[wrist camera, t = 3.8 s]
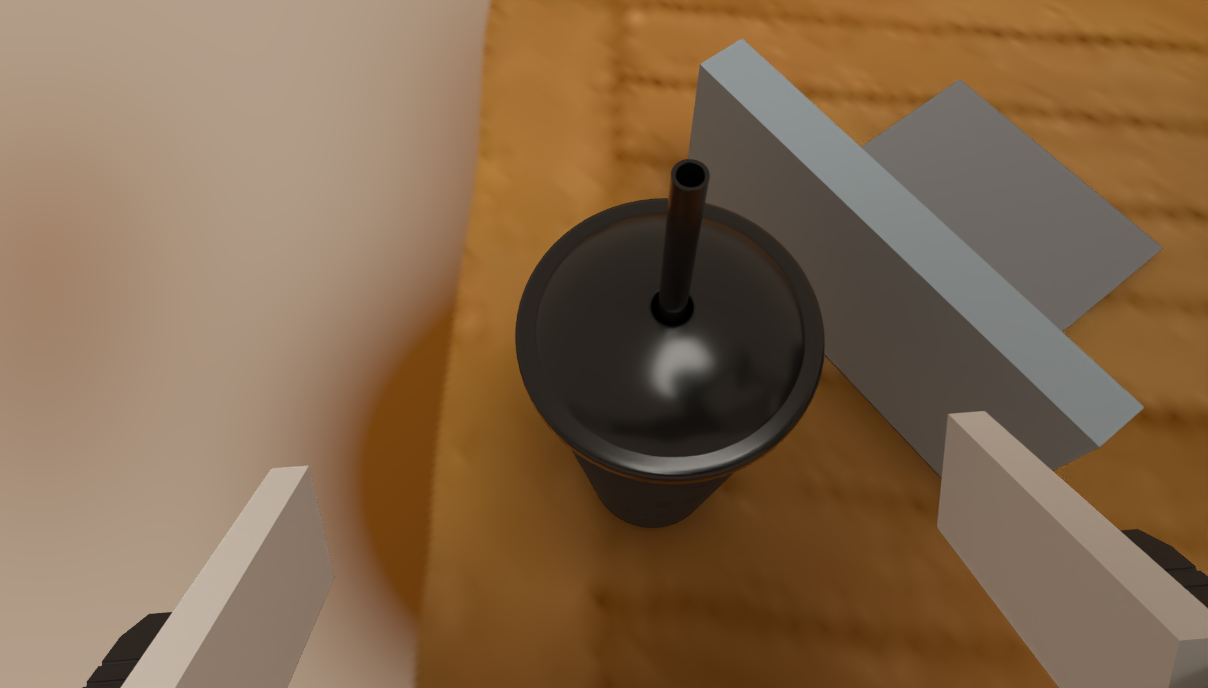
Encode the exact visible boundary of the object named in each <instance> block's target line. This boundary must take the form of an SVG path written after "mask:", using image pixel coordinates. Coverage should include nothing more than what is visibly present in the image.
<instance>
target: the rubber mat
mask: <svg viewBox="0 0 1208 688" xmlns="http://www.w3.org/2000/svg"><path fill="white" fill-rule="evenodd" d="M861 148H862V149H863V150H864V151H865V152H867V153H868V154H869V155H870V156H871V157H872V158H873V159H874V160H875V161H876V162H877V163H879V164H880V165H881V166H882V167H883V168H884V169H885V170H886V171H887V172H888V173H889V174H891V175H892V176H893V177H894V178H895V179H896V180H897V181H898V182H899V183H900V184H901V185H902V186H904V187H905V188H906V189H907V190H908V191H909V192H910V193H911V194H912V195H913V196H914V197H916V198H917V199H918V200H919V201H920V202H921V203H922V204H923V205H924V206H925V207H926V208H928V209H929V210H930V211H931V212H932V213H933V214H934V215H935V216H936V217H937V218H938V219H940V220H941V221H942V222H943V223H944V224H945V225H946V226H947V227H948V228H949V229H950V230H952V231H953V232H954V233H955V234H956V235H957V236H958V237H959V238H960V239H961V240H962V241H964V242H965V243H966V244H967V245H968V246H969V247H970V248H971V249H972V250H973V251H974V252H976V253H977V254H978V255H979V256H980V257H981V258H982V259H983V260H984V261H985V262H986V263H988V264H989V265H990V266H991V267H992V268H993V269H994V270H995V271H996V272H997V273H998V274H1000V275H1001V276H1002V277H1003V278H1004V279H1005V280H1006V281H1007V282H1008V283H1009V284H1010V285H1012V286H1013V287H1014V288H1015V289H1016V290H1017V291H1018V292H1019V293H1020V294H1021V295H1022V296H1024V297H1025V298H1026V299H1027V300H1028V301H1029V302H1030V303H1031V304H1032V305H1033V306H1034V307H1036V308H1037V309H1038V310H1039V311H1040V312H1041V313H1042V314H1043V315H1044V316H1045V317H1046V318H1048V319H1049V320H1050V321H1051V322H1052V323H1053V324H1054V325H1055V326H1056V327H1057V328H1058V329H1060V330H1061V331H1062V332H1063V331H1064V330H1065V329H1066V328H1068V327H1069V326H1070V325H1071V324H1072V323H1074V322H1075V321H1076V320H1077V319H1078V318H1080V317H1081V316H1082V315H1083V314H1084V313H1086V312H1087V311H1088V310H1089V309H1091V308H1092V307H1093V306H1094V305H1095V304H1097V303H1098V302H1099V301H1100V300H1101V299H1103V298H1104V297H1105V296H1106V295H1107V294H1109V293H1110V292H1111V291H1112V290H1113V289H1115V288H1116V287H1117V286H1118V285H1120V284H1121V283H1122V282H1123V281H1124V280H1126V279H1127V278H1128V277H1129V276H1130V275H1132V274H1133V273H1134V272H1135V271H1136V270H1138V269H1139V268H1140V267H1141V266H1142V265H1144V264H1145V263H1146V262H1147V261H1149V260H1150V259H1151V258H1152V257H1153V256H1155V255H1156V254H1157V253H1158V252H1159V251H1161V250H1162V249H1163V247H1162V246H1160V245H1159V244H1158V243H1157V242H1156V241H1154V240H1153V239H1152V238H1151V237H1150V236H1148V235H1147V234H1146V233H1145V232H1144V231H1142V230H1141V229H1140V228H1139V227H1138V226H1136V225H1135V224H1134V223H1133V222H1131V221H1130V220H1129V219H1128V218H1127V217H1125V216H1124V215H1123V214H1122V213H1121V212H1119V211H1118V210H1117V209H1116V208H1115V207H1113V206H1112V205H1111V204H1110V203H1109V202H1107V201H1106V200H1105V199H1104V198H1103V197H1101V196H1100V195H1099V194H1098V193H1097V192H1095V191H1094V190H1093V189H1092V188H1090V187H1089V186H1088V185H1087V184H1086V183H1084V182H1083V181H1082V180H1081V179H1080V178H1078V177H1077V176H1076V175H1075V174H1074V173H1072V172H1071V171H1070V170H1069V169H1068V168H1066V167H1065V166H1064V165H1063V164H1062V163H1060V162H1059V161H1058V160H1057V159H1056V158H1054V157H1053V156H1052V155H1051V154H1050V153H1048V152H1047V151H1046V150H1045V149H1043V148H1042V147H1041V146H1040V145H1039V144H1037V143H1036V142H1035V141H1034V140H1033V139H1031V138H1030V137H1029V136H1028V135H1027V134H1025V133H1024V132H1023V131H1022V130H1021V129H1019V128H1018V127H1017V126H1016V125H1015V124H1013V123H1012V122H1011V121H1010V120H1009V119H1007V118H1006V117H1005V116H1004V115H1002V114H1001V113H1000V112H999V111H998V110H996V109H995V108H994V107H993V106H992V105H990V104H989V103H988V102H987V101H986V100H984V99H983V98H982V97H981V96H980V95H978V94H977V93H976V92H975V91H974V90H972V89H971V88H970V87H969V86H968V85H966V84H965V83H964V82H963V81H961V80H960V79H959V80H958V81H956V82H955V83H953V84H952V85H951V86H949V87H948V88H946V89H945V90H943V91H942V92H940V93H939V94H937V95H936V96H935V97H933V98H932V99H930V100H929V101H927V102H926V103H924V104H923V105H922V106H920V107H919V108H917V109H916V110H914V111H913V112H911V113H910V114H909V115H907V116H906V117H904V118H903V119H901V120H900V121H898V122H897V123H895V124H894V125H893V126H891V127H890V128H888V129H887V130H885V131H884V132H882V133H881V134H880V135H878V136H877V137H875V138H874V139H872V140H871V141H869V142H868V143H867V144H865V145H864V146H862V147H861Z"/></svg>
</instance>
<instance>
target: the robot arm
mask: <svg viewBox="0 0 1208 688" xmlns="http://www.w3.org/2000/svg"><path fill="white" fill-rule="evenodd" d="M937 528H938V530H939V531H940V532H941V533H942V535H943V536H944V537H945V539H946V540H947V541H948V543H949V544H950V545H951V547H952V548H953V549H954V551H955V552H956V553H957V555H958V556H959V557H960V558H961V560H962V561H963V562H964V564H965V565H966V566H967V568H968V569H969V570H970V572H971V573H972V574H973V576H974V577H975V578H976V579H977V581H978V582H979V583H980V585H981V586H982V587H983V589H984V590H985V591H986V593H987V594H988V595H989V597H990V598H991V599H992V600H993V602H994V603H995V604H996V606H997V607H998V608H999V610H1000V611H1001V612H1002V614H1003V615H1004V616H1005V618H1006V619H1007V620H1008V622H1009V623H1010V624H1011V625H1012V627H1013V628H1014V629H1015V631H1016V632H1017V633H1018V635H1019V636H1020V637H1021V639H1022V640H1023V641H1024V643H1025V644H1026V645H1027V646H1028V648H1029V649H1030V650H1031V652H1032V653H1033V654H1034V656H1035V657H1036V658H1037V660H1038V661H1039V662H1040V664H1041V665H1042V666H1043V667H1044V669H1045V670H1046V671H1047V673H1048V674H1049V675H1050V677H1051V678H1052V679H1053V681H1054V682H1055V683H1056V685H1057V686H1058V687H1059V688H1208V576H1206V575H1205V574H1204V573H1203V572H1202V571H1197V570H1196V566H1194V565H1193V564H1192V563H1191V562H1190V561H1188V560H1187V559H1186V558H1185V557H1184V556H1182V555H1181V554H1180V553H1179V552H1178V551H1176V550H1175V549H1174V548H1173V547H1172V546H1170V545H1168V544H1166V543H1164V542H1162V541H1160V540H1158V539H1156V538H1154V537H1152V536H1150V535H1148V534H1146V533H1144V532H1142V531H1140V530H1138V529H1135V530H1123V531H1120V530H1119V529H1117V528H1116V527H1115V526H1114V525H1113V524H1112V523H1111V522H1110V521H1108V520H1107V519H1106V518H1105V517H1104V516H1103V515H1102V514H1101V513H1099V512H1098V511H1097V510H1096V509H1095V508H1094V507H1093V506H1091V505H1090V504H1089V503H1088V502H1087V501H1086V500H1085V499H1084V498H1082V497H1081V496H1080V495H1079V494H1078V493H1077V492H1076V491H1075V490H1073V489H1072V488H1071V487H1070V486H1069V485H1068V484H1067V483H1066V482H1064V481H1063V480H1062V479H1061V478H1060V477H1059V476H1058V475H1056V474H1055V473H1054V472H1053V471H1052V470H1051V469H1050V468H1049V467H1047V466H1046V465H1045V464H1044V463H1043V462H1042V461H1041V460H1040V459H1038V458H1037V457H1036V456H1035V455H1034V454H1033V453H1032V452H1030V451H1029V450H1028V449H1027V448H1026V447H1025V446H1024V445H1023V444H1021V443H1020V442H1019V441H1018V440H1017V439H1016V438H1015V437H1014V436H1012V435H1011V434H1010V433H1009V432H1008V431H1007V430H1006V429H1005V428H1003V427H1002V426H1001V425H1000V424H999V423H998V422H997V421H995V420H994V419H993V418H992V417H991V416H990V415H989V414H988V413H986V412H985V411H978V412H966V413H953V414H948V419H947V429H946V439H945V449H944V460H943V470H942V480H941V490H940V500H939V511H938V521H937ZM334 578H335V577H334V573H333V568H332V564H331V559H330V555H329V550H328V546H327V542H326V537H325V533H324V528H323V524H322V520H321V515H320V511H319V506H318V502H317V498H316V494H315V489H314V485H313V480H312V476H311V471H310V467H309V466H297V467H285V468H272V469H271V470H270V471H269V473H268V474H267V476H266V477H265V478H264V480H263V481H262V483H261V484H260V486H259V487H258V489H257V490H256V492H255V493H254V494H253V496H252V497H251V499H250V500H249V502H248V503H247V505H246V506H245V508H244V509H243V511H242V512H241V513H240V515H239V516H238V518H237V519H236V521H235V522H234V524H233V525H232V526H231V528H230V529H229V531H228V532H227V534H226V535H225V537H224V538H223V540H222V541H221V542H220V544H219V545H218V547H217V548H216V550H215V551H214V553H213V554H212V556H211V557H210V559H209V560H208V561H207V563H206V564H205V566H204V567H203V569H202V570H201V572H200V573H199V574H198V576H197V578H196V579H195V580H194V582H193V583H192V585H191V586H190V588H189V589H188V591H187V592H186V593H185V595H184V596H183V598H182V599H181V601H180V602H179V604H178V605H177V606H176V608H175V609H174V611H173V612H168V613H156V614H149V615H147V616H146V617H145V618H143V619H142V620H141V621H140V622H139V623H137V624H136V625H135V626H134V627H132V628H131V629H130V630H128V631H127V632H126V633H125V634H123V635H122V636H121V637H120V638H119V639H118V641H117V642H116V644H115V645H114V646H113V647H112V649H111V650H110V651H109V653H108V654H107V656H106V657H105V658H104V659H103V661H102V666H98V668H97V669H96V670H95V672H94V673H93V674H92V676H91V677H90V678H89V680H88V681H87V686H86V687H83V688H287V687H288V685H289V682H290V680H291V678H292V675H293V673H294V671H295V668H296V666H297V664H298V662H299V659H300V657H301V655H302V652H303V650H304V648H305V645H306V643H307V641H308V638H309V636H310V634H311V631H312V629H313V627H314V624H315V622H316V620H317V617H318V615H319V613H320V610H321V608H322V606H323V604H324V601H325V599H326V597H327V594H328V592H329V590H330V587H331V585H332V582H333V580H334Z"/></svg>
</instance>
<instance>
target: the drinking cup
mask: <svg viewBox="0 0 1208 688" xmlns="http://www.w3.org/2000/svg"><path fill="white" fill-rule="evenodd" d="M709 179H710V173H709V170H708V168H707V167H706V165H705V164H703V163H702V162H700V161H698V160H694V159H686V160H682V161H680V162H678V163H677V164H676V165H675V166H674V167H673V169H672V172H671V179H670V189H669V198H661V199H647V200H640V201H634V202H630V203H625V204H622V205H618V206H615V207H612V208H609V209H607V210H604V211H602V212H600V213H597V214H595V215H593V216H591V217H589V218H588V219H586V220H584V221H583V222H581V223H579V224H578V225H576V226H575V227H573V228H572V229H571V230H569V231H568V232H567V233H566V234H564V235H563V236H562V237H561V238H560V239H559V240H558V241H557V242H556V243H555V244H554V245H553V246H552V247H551V248H550V249H549V250H548V251H547V252H546V254H545V255H544V256H543V258H542V259H541V260H540V262H539V263H538V264H537V266H536V268H535V269H534V271H533V273H532V274H531V276H530V278H529V280H528V282H527V284H526V287H525V289H524V292H523V295H522V298H521V301H520V304H519V309H518V313H517V320H516V331H515V343H516V354H517V360H518V364H519V370H520V373H521V376H522V379H523V383H524V385H525V388H526V390H527V393H528V395H529V397H530V399H531V401H532V403H533V405H534V407H535V408H536V410H537V412H538V413H539V415H540V416H541V418H542V419H543V420H544V422H545V423H546V425H547V426H548V427H549V428H550V429H551V430H552V432H553V433H554V434H555V435H556V436H557V437H558V438H559V439H560V440H561V441H562V442H563V443H564V444H566V445H567V446H568V447H569V448H570V449H572V451H573V453H574V455H575V456H576V458H577V460H578V461H579V463H580V465H581V467H582V468H583V470H584V472H585V474H586V475H587V477H588V479H589V480H590V482H591V484H592V486H593V487H594V489H595V491H596V492H597V494H598V496H599V498H600V499H601V501H602V502H603V503H604V505H605V506H606V507H607V508H608V509H609V510H610V511H611V512H612V513H613V514H614V515H616V516H617V517H619V518H620V519H622V520H624V521H626V522H628V523H630V524H633V525H636V526H641V527H649V528H656V527H664V526H668V525H671V524H674V523H677V522H679V521H681V520H682V519H684V518H686V517H687V516H688V515H690V514H691V513H692V512H693V511H694V510H695V509H696V508H697V507H698V506H699V505H701V504H702V503H703V502H704V501H705V500H706V499H707V498H708V497H709V496H710V495H711V494H712V493H713V492H714V491H715V490H716V489H717V488H718V487H719V486H720V485H721V484H722V483H723V482H724V481H725V480H727V479H728V478H729V477H730V476H731V475H732V474H733V473H734V472H736V471H738V470H740V469H743V468H745V467H747V466H749V465H751V464H752V463H754V462H756V461H757V460H759V459H761V458H762V457H764V456H765V455H766V454H767V453H769V452H770V451H772V450H773V449H774V448H775V447H776V446H777V445H778V444H779V443H781V442H782V441H783V440H784V439H785V438H786V437H787V435H788V434H789V433H790V432H791V431H792V430H793V429H794V427H795V426H796V425H797V423H798V422H799V420H800V419H801V418H802V416H803V415H804V413H805V412H806V410H807V408H808V406H809V404H810V403H811V401H812V398H813V396H814V394H815V391H816V389H817V386H818V383H819V380H820V376H821V373H822V367H823V362H824V351H825V335H824V326H823V319H822V314H821V311H820V307H819V303H818V300H817V298H816V295H815V293H814V290H813V288H812V286H811V284H810V282H809V280H808V278H807V276H806V275H805V273H804V272H803V270H802V268H801V267H800V265H799V264H798V263H797V261H796V260H795V259H794V257H793V256H792V255H791V254H790V253H789V252H788V250H787V249H786V248H785V247H784V246H783V245H782V244H781V243H780V242H779V241H777V240H776V239H775V238H774V237H773V236H772V235H771V234H769V233H768V232H767V231H765V230H764V229H763V228H761V227H760V226H758V225H757V224H755V223H753V222H752V221H750V220H748V219H747V218H745V217H743V216H741V215H739V214H737V213H734V212H732V211H729V210H727V209H724V208H721V207H718V206H715V205H712V204H708V203H705V202H706V196H707V191H708V185H709Z"/></svg>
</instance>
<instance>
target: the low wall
mask: <svg viewBox="0 0 1208 688" xmlns="http://www.w3.org/2000/svg"><path fill="white" fill-rule="evenodd" d="M688 159H694V160H698V161H700V162H702V163H703V164H705V165H706V167H707V168H708V170H709V173H710V179H709V185H708V191H707V196H706V202H705V203H708V204H712V205H715V206H718V207H721V208H724V209H727V210H729V211H732V212H734V213H737V214H739V215H741V216H743V217H745V218H747V219H748V220H750V221H752V222H753V223H755V224H757V225H758V226H760V227H761V228H763V229H764V230H765V231H767V232H768V233H769V234H771V235H772V236H773V237H774V238H775V239H776V240H777V241H779V242H780V243H781V244H782V245H783V246H784V247H785V248H786V249H787V250H788V252H789V253H790V254H791V255H792V256H793V257H794V259H795V260H796V261H797V263H798V264H799V265H800V267H801V268H802V270H803V272H804V273H805V275H806V276H807V278H808V280H809V282H810V284H811V286H812V288H813V290H814V293H815V295H816V298H817V300H818V303H819V307H820V311H821V314H822V319H823V326H824V335H825V351H824V354H825V355H826V356H827V357H828V358H829V359H830V360H831V362H832V363H833V364H834V365H835V366H836V367H837V368H838V369H839V370H840V371H841V372H842V373H843V374H844V375H845V376H846V377H847V379H848V380H849V381H850V382H851V383H852V384H853V385H854V386H855V387H856V388H857V389H858V390H859V391H860V392H861V393H862V394H863V395H864V397H865V398H866V399H867V400H868V401H869V402H870V403H871V404H872V405H873V406H874V407H875V408H876V409H877V410H878V411H879V412H880V413H881V415H882V416H883V417H884V418H885V419H886V420H887V421H888V422H889V423H890V424H891V425H892V426H893V427H894V428H895V429H896V430H897V432H898V433H899V434H900V435H901V436H902V437H903V438H904V439H905V440H906V441H907V442H908V443H909V444H910V445H911V446H912V447H913V448H914V450H915V451H916V452H917V453H918V454H919V455H920V456H921V457H922V458H923V459H924V460H925V461H926V462H927V463H928V464H929V465H930V466H931V468H932V469H933V470H934V471H935V472H936V473H937V474H938V475H939V476H940V477H941V478H942V470H943V460H944V449H945V439H946V429H947V419H948V414H953V413H966V412H978V411H985V412H986V413H988V414H989V415H990V416H991V417H992V418H993V419H994V420H995V421H997V422H998V423H999V424H1000V425H1001V426H1002V427H1003V428H1005V429H1006V430H1007V431H1008V432H1009V433H1010V434H1011V435H1012V436H1014V437H1015V438H1016V439H1017V440H1018V441H1019V442H1020V443H1021V444H1023V445H1024V446H1025V447H1026V448H1027V449H1028V450H1029V451H1030V452H1032V453H1033V454H1034V455H1035V456H1036V457H1037V458H1038V459H1040V460H1041V461H1042V462H1043V463H1044V464H1045V465H1046V466H1047V467H1049V468H1050V469H1051V470H1052V471H1053V470H1055V469H1057V468H1059V467H1061V466H1063V465H1065V464H1067V463H1069V462H1071V461H1073V460H1075V459H1077V458H1079V457H1081V456H1083V455H1085V454H1087V453H1089V452H1091V451H1093V450H1095V449H1097V448H1099V447H1100V446H1102V445H1103V444H1104V443H1105V442H1106V441H1107V440H1108V439H1109V438H1111V437H1112V436H1113V435H1114V434H1115V433H1116V432H1117V431H1118V430H1120V429H1121V428H1122V427H1123V426H1124V425H1125V424H1126V423H1127V422H1129V421H1130V420H1131V419H1132V418H1133V417H1134V416H1135V415H1136V414H1138V413H1139V412H1140V411H1141V410H1142V409H1143V408H1144V406H1142V405H1141V404H1140V403H1139V402H1138V401H1137V400H1136V399H1135V398H1134V397H1133V396H1132V395H1130V394H1129V393H1128V392H1127V391H1126V390H1125V389H1124V388H1123V387H1122V386H1121V385H1120V384H1118V383H1117V382H1116V381H1115V380H1114V379H1113V378H1112V377H1111V376H1110V375H1109V374H1108V373H1106V372H1105V371H1104V370H1103V369H1102V368H1101V367H1100V366H1099V365H1098V364H1097V363H1096V362H1094V361H1093V360H1092V359H1091V358H1090V357H1089V356H1088V355H1087V354H1086V353H1085V352H1084V351H1082V350H1081V349H1080V348H1079V347H1078V346H1077V345H1076V344H1075V343H1074V342H1073V341H1072V340H1070V339H1069V338H1068V337H1067V336H1066V335H1065V334H1064V333H1063V332H1062V331H1061V330H1060V329H1058V328H1057V327H1056V326H1055V325H1054V324H1053V323H1052V322H1051V321H1050V320H1049V319H1048V318H1046V317H1045V316H1044V315H1043V314H1042V313H1041V312H1040V311H1039V310H1038V309H1037V308H1036V307H1034V306H1033V305H1032V304H1031V303H1030V302H1029V301H1028V300H1027V299H1026V298H1025V297H1024V296H1022V295H1021V294H1020V293H1019V292H1018V291H1017V290H1016V289H1015V288H1014V287H1013V286H1012V285H1010V284H1009V283H1008V282H1007V281H1006V280H1005V279H1004V278H1003V277H1002V276H1001V275H1000V274H998V273H997V272H996V271H995V270H994V269H993V268H992V267H991V266H990V265H989V264H988V263H986V262H985V261H984V260H983V259H982V258H981V257H980V256H979V255H978V254H977V253H976V252H974V251H973V250H972V249H971V248H970V247H969V246H968V245H967V244H966V243H965V242H964V241H962V240H961V239H960V238H959V237H958V236H957V235H956V234H955V233H954V232H953V231H952V230H950V229H949V228H948V227H947V226H946V225H945V224H944V223H943V222H942V221H941V220H940V219H938V218H937V217H936V216H935V215H934V214H933V213H932V212H931V211H930V210H929V209H928V208H926V207H925V206H924V205H923V204H922V203H921V202H920V201H919V200H918V199H917V198H916V197H914V196H913V195H912V194H911V193H910V192H909V191H908V190H907V189H906V188H905V187H904V186H902V185H901V184H900V183H899V182H898V181H897V180H896V179H895V178H894V177H893V176H892V175H891V174H889V173H888V172H887V171H886V170H885V169H884V168H883V167H882V166H881V165H880V164H879V163H877V162H876V161H875V160H874V159H873V158H872V157H871V156H870V155H869V154H868V153H867V152H865V151H864V150H863V149H862V148H861V147H860V146H859V145H858V144H857V143H856V142H855V141H853V140H852V139H851V138H850V137H849V136H848V135H847V134H846V133H845V132H844V131H843V130H841V129H840V128H839V127H838V126H837V125H836V124H835V123H834V122H833V121H832V120H831V119H829V118H828V117H827V116H826V115H825V114H824V113H823V112H822V111H821V110H820V109H819V108H817V107H816V106H815V105H814V104H813V103H812V102H811V101H810V100H809V99H808V98H807V97H805V96H804V95H803V94H802V93H801V92H800V91H799V90H798V89H797V88H796V87H795V86H793V85H792V84H791V83H790V82H789V81H788V80H787V79H786V78H785V77H784V76H783V75H781V74H780V73H779V72H778V71H777V70H776V69H775V68H774V67H773V66H772V65H771V64H769V63H768V62H767V61H766V60H765V59H764V58H763V57H762V56H761V55H760V54H759V53H757V52H756V51H755V50H754V49H753V48H752V47H751V46H750V45H749V44H748V43H747V42H745V41H744V40H743V39H740V40H738V41H737V42H735V43H734V44H732V45H730V46H729V47H727V48H726V49H724V50H722V51H721V52H719V53H717V54H716V55H714V56H713V57H711V58H709V59H708V60H706V61H705V62H703V63H701V64H700V69H699V77H698V84H697V92H696V100H695V108H694V115H693V123H692V131H691V139H690V146H689V154H688Z"/></svg>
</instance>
